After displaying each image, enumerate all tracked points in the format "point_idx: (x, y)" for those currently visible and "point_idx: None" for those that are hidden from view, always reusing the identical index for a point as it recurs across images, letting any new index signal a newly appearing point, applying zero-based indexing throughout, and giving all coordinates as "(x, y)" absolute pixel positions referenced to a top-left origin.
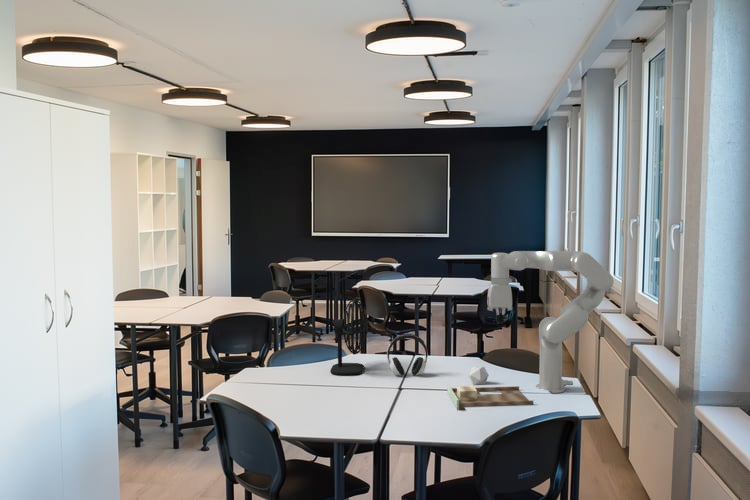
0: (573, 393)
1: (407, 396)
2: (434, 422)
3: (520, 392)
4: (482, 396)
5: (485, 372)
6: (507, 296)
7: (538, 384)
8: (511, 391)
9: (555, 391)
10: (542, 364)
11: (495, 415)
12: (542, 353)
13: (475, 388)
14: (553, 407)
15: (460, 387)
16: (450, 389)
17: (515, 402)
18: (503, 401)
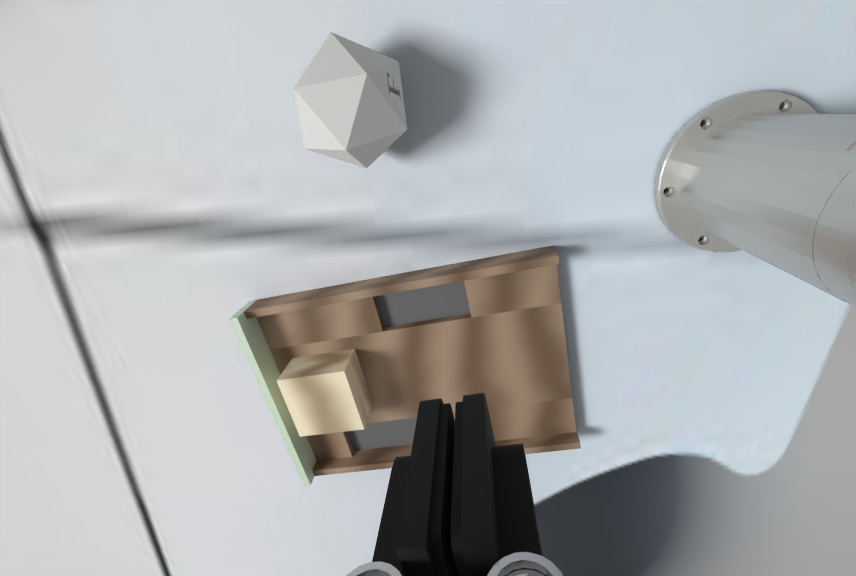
0: None
1: (113, 333)
2: (274, 543)
3: (556, 292)
4: (390, 357)
5: (385, 133)
6: None
7: (688, 135)
8: (516, 280)
9: (737, 249)
10: (766, 251)
11: None
12: (828, 280)
13: (353, 299)
14: (651, 424)
15: (292, 390)
16: (255, 374)
17: None
18: None
